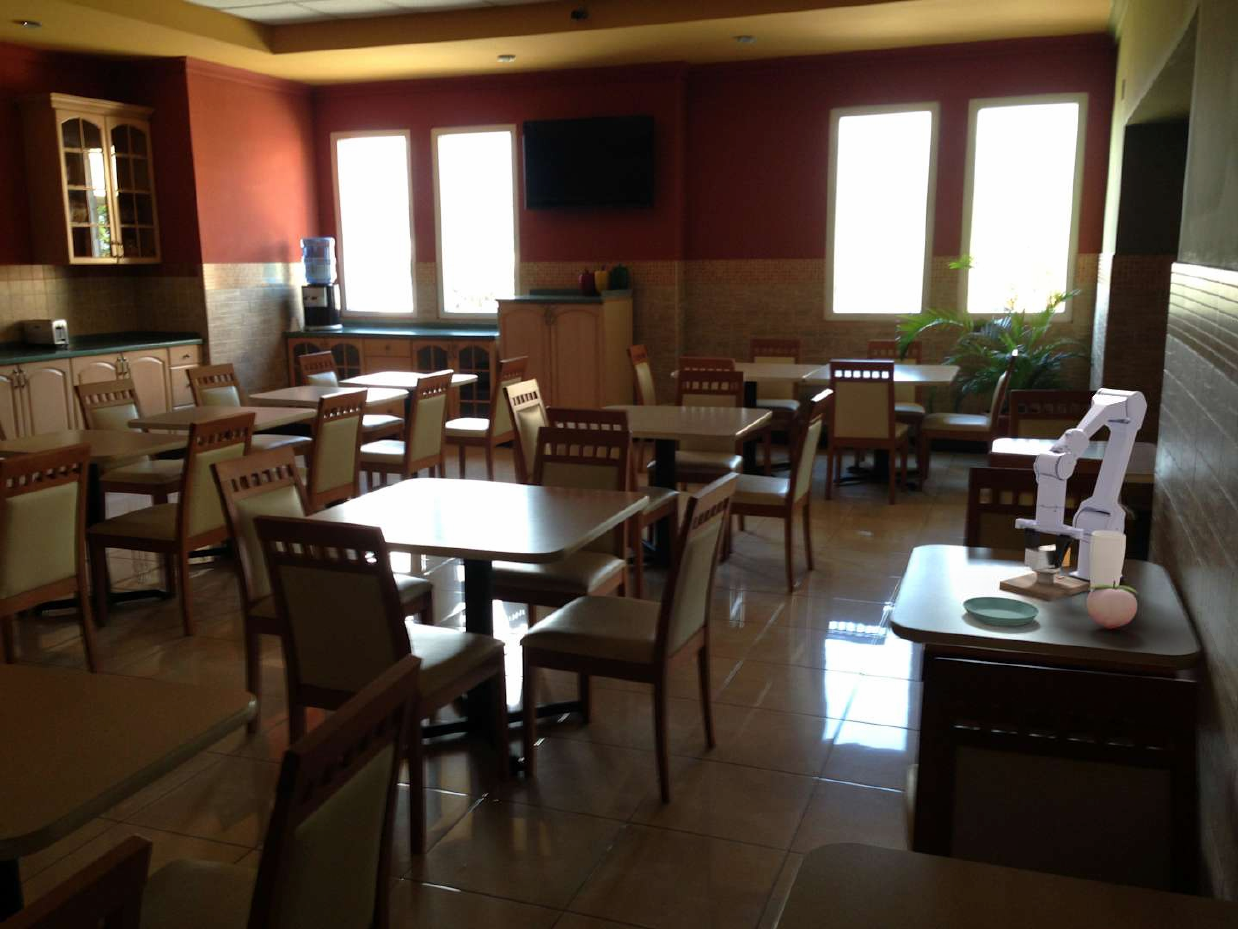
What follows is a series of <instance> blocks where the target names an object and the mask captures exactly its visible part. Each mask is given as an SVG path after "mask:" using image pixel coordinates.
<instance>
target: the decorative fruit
mask: <svg viewBox="0 0 1238 929" xmlns="http://www.w3.org/2000/svg"><path fill="white" fill-rule="evenodd" d="M1091 589H1093V590H1092V591H1091V592H1090V590H1091ZM1087 591H1089V593H1088V595H1087V598H1086V609H1087V612H1088V614H1089V615H1090V617H1091V618H1092V619H1093V620H1094V621H1095V622H1097V623H1098V624H1099V625H1101V626H1103V627H1105V628H1106V629H1109V630H1112V629H1113V628H1114V629H1115V628H1118V627H1122V626H1125V625H1126V624H1129V623H1130V622H1132V620H1133V618H1134V617H1135V615H1136V613H1137V612H1138V601H1137V598H1136V596H1135V595H1134V594H1136V595H1138V596H1140V594H1139V593H1138V591H1137V590H1135V589H1134V588H1132V587H1131V586H1127V585H1119V586H1115V581H1114V583H1113V587H1112V586H1109V585H1106V584H1097V585H1094V586H1092V587H1090V588H1089V589H1088V590H1087Z"/></svg>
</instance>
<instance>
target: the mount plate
mask: <svg viewBox="0 0 1238 929" xmlns="http://www.w3.org/2000/svg"><path fill="white" fill-rule="evenodd" d="M1089 588H1090V582H1088V581H1084V580H1082V579H1081V580H1080V579H1077V578H1072V577H1068V576H1064V575H1060V574H1041V573H1037V572H1032V573H1027V574H1023V575H1021V576H1016V577H1013V578H1009V579H1005V580H1002V581H999V588H998V589H1001V590H1005V591H1009V592H1012V593H1016V594H1018V595H1023V596H1026V597H1031V598H1033V599H1037V600H1041V601H1045V602H1050V601H1053V600H1054V601H1055V600H1057V599H1061V598H1064V597H1067V596H1071V595H1074V594H1077V593H1081V592H1084V591H1089V590H1088V589H1089Z"/></svg>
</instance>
